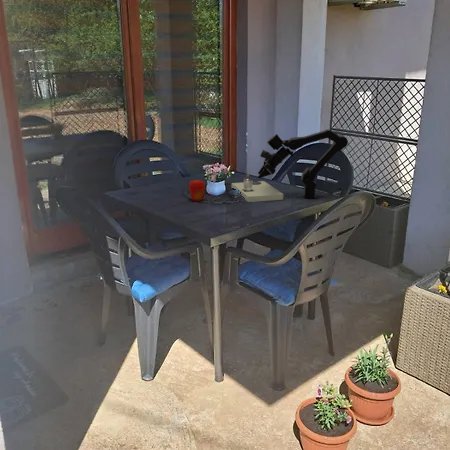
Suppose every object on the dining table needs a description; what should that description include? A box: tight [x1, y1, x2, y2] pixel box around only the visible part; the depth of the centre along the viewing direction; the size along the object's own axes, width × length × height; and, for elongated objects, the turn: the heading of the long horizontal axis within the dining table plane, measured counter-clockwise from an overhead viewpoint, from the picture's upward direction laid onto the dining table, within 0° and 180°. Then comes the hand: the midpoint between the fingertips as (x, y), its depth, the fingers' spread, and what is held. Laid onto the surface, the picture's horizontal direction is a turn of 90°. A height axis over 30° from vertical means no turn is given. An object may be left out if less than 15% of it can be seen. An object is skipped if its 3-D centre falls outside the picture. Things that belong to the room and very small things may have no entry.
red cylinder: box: [188, 179, 206, 202], centre depth 262 cm, size 9×8×12 cm
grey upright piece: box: [243, 173, 253, 192], centre depth 271 cm, size 5×5×12 cm
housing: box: [231, 180, 284, 203], centre depth 276 cm, size 30×20×3 cm, turn 16°
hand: (258, 175), depth 269 cm, fingers open, 9 cm apart
